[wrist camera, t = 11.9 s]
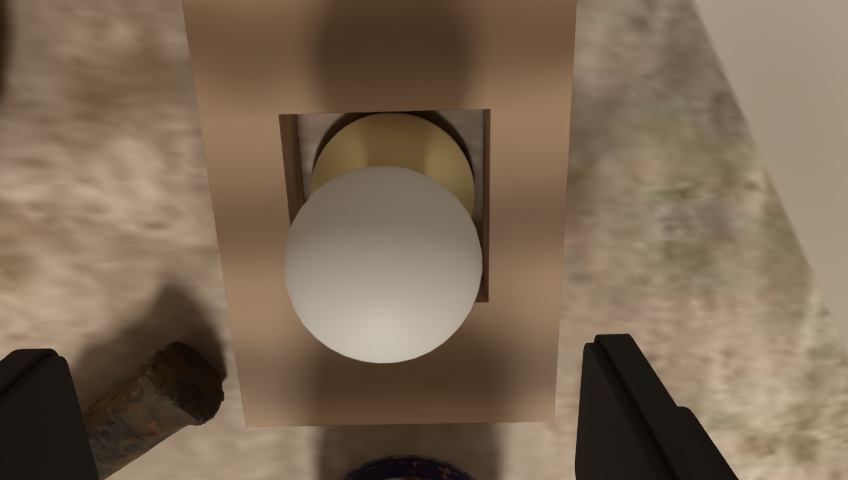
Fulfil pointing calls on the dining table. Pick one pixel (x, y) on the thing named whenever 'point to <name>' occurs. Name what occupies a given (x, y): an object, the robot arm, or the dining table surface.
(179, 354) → the hand tool
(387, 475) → the navy ridged cylinder
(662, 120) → the dining table surface
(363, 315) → the lightbulb
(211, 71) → the holder
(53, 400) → the robot arm
